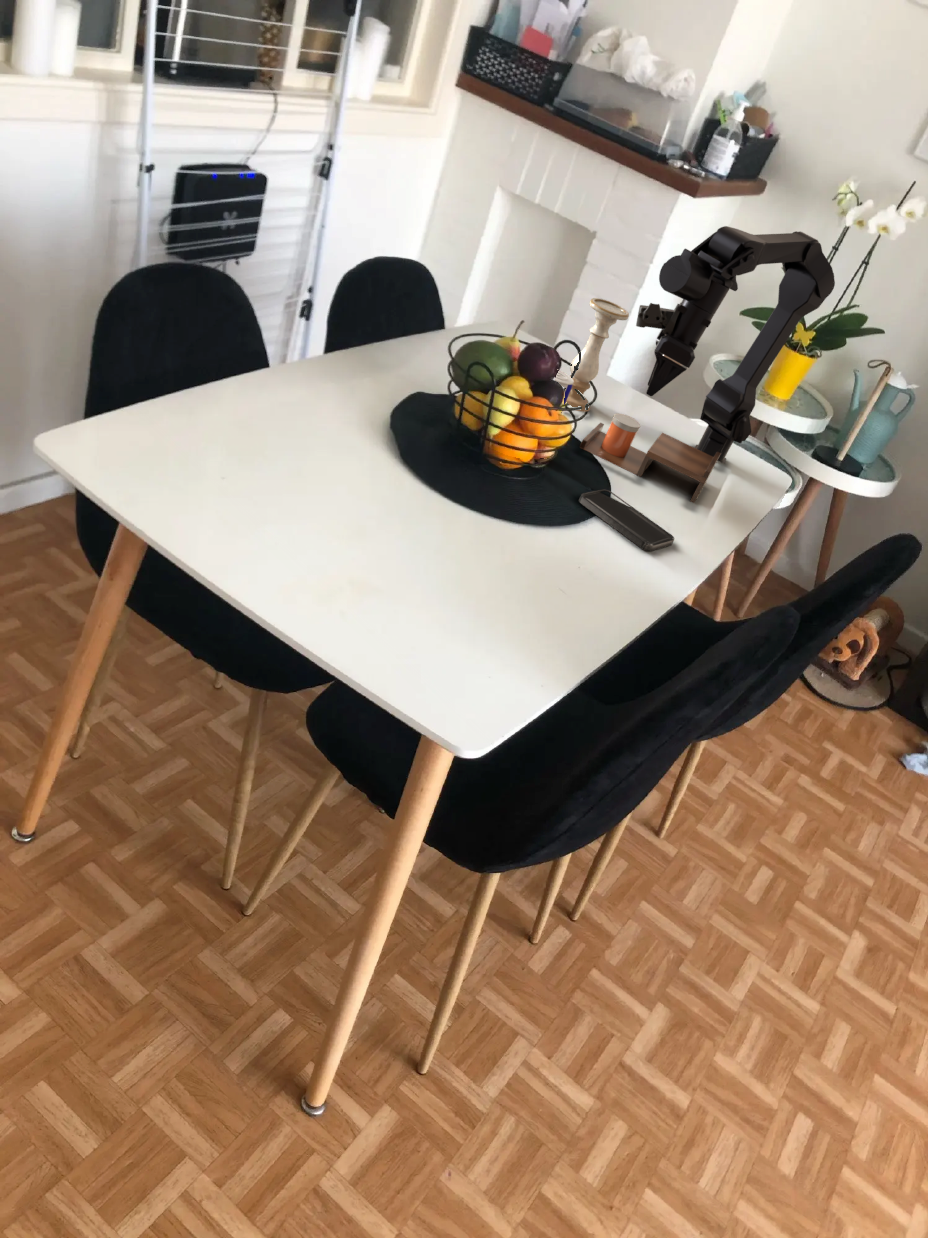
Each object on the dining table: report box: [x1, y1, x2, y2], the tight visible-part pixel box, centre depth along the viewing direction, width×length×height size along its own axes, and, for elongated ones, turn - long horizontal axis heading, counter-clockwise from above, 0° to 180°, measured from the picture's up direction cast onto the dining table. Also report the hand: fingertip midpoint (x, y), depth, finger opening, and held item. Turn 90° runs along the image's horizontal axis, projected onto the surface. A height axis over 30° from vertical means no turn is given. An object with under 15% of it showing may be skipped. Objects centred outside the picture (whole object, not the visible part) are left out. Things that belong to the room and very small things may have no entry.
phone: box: [578, 488, 675, 552], centre depth 158 cm, size 8×1×15 cm
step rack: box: [579, 422, 721, 504], centre depth 177 cm, size 12×22×7 cm, turn 66°
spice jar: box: [601, 413, 641, 457], centre depth 178 cm, size 5×5×6 cm
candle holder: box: [566, 297, 630, 413], centre depth 188 cm, size 9×9×20 cm
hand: (649, 390), depth 172 cm, fingers open, 9 cm apart
